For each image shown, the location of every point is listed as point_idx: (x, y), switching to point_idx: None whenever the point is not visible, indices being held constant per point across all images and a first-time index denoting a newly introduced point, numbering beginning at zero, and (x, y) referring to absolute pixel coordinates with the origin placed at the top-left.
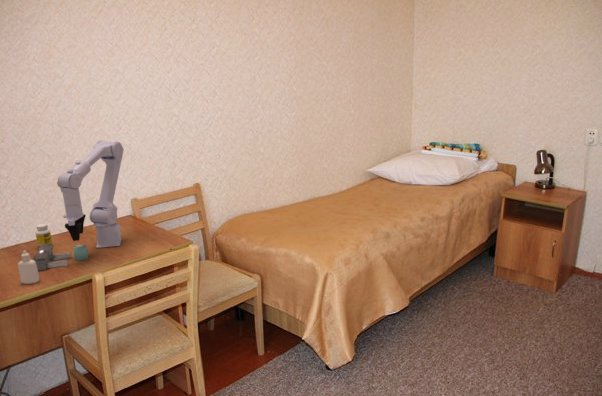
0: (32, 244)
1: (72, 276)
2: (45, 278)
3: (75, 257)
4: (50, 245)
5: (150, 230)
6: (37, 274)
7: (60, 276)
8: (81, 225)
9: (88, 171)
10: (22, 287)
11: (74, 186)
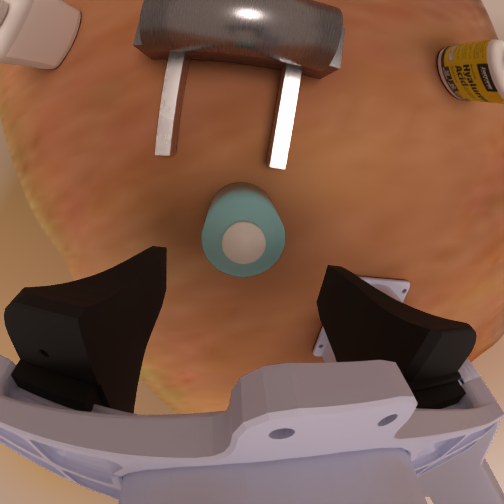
0: None
1: (50, 194)
2: (64, 85)
3: (222, 191)
4: (326, 54)
5: None
6: (32, 66)
7: (61, 144)
8: (342, 350)
9: None
10: None
11: None
